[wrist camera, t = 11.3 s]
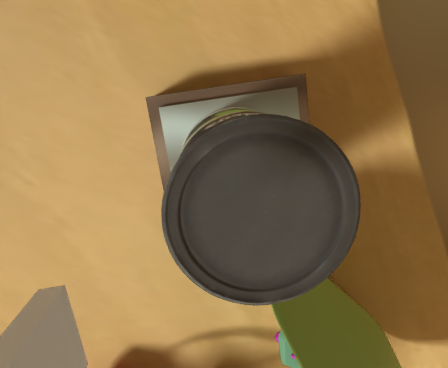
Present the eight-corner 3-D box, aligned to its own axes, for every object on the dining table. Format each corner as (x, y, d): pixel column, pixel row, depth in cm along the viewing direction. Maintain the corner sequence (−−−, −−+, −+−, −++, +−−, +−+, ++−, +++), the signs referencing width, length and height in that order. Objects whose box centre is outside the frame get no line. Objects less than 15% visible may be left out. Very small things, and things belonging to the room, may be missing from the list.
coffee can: (182, 100, 30) (168, 102, 16) (300, 113, 31) (380, 126, 17) (173, 215, 32) (154, 301, 19) (282, 224, 33) (341, 312, 20)
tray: (152, 97, 34) (144, 97, 30) (292, 76, 35) (307, 73, 30) (177, 229, 38) (174, 249, 33) (304, 209, 38) (319, 225, 34)
